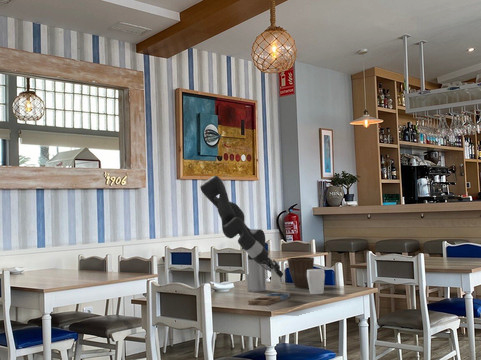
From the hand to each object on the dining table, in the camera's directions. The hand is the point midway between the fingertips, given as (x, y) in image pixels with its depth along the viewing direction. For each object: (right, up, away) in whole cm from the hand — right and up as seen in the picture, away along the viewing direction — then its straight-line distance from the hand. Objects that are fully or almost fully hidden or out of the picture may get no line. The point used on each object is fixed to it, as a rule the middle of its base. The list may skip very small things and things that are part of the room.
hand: (279, 275), depth 286 cm
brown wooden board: (-5, -11, -8) cm, 15 cm away
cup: (+20, -12, +14) cm, 27 cm away
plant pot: (+15, -14, +43) cm, 48 cm away
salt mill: (-2, -6, -1) cm, 6 cm away
